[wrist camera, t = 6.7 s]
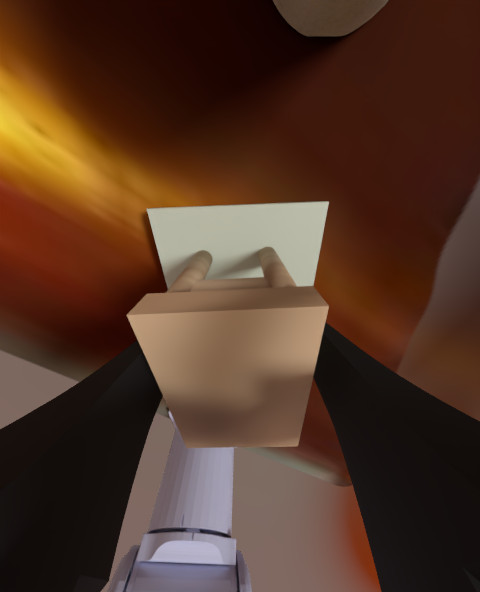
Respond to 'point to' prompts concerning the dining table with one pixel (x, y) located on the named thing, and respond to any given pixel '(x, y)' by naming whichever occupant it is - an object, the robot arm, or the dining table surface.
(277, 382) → the stool
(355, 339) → the dining table surface
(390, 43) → the dining table surface
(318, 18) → the flower pot
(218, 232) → the board
